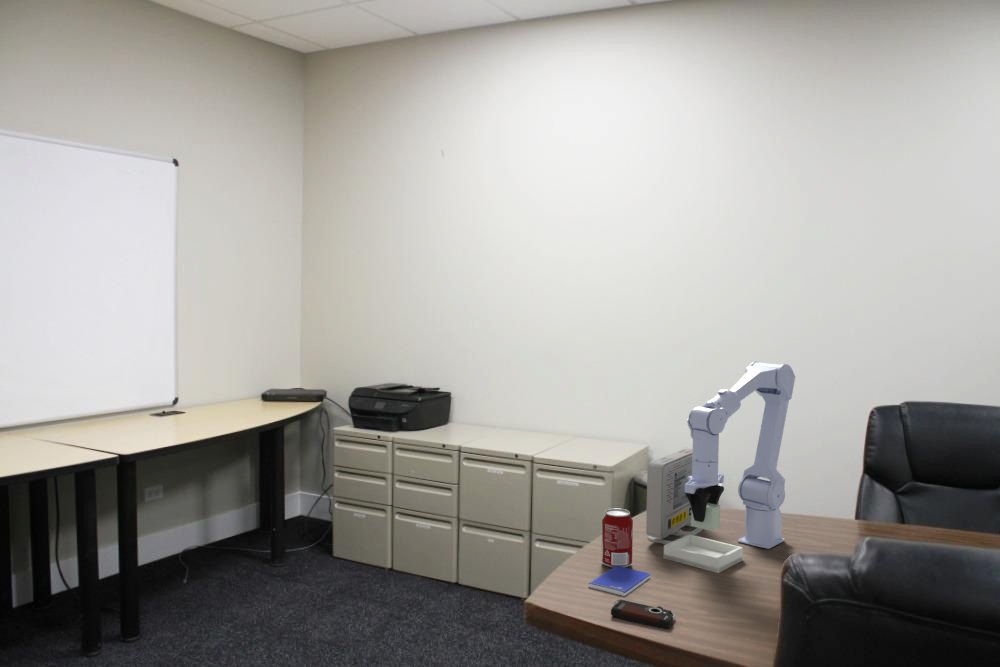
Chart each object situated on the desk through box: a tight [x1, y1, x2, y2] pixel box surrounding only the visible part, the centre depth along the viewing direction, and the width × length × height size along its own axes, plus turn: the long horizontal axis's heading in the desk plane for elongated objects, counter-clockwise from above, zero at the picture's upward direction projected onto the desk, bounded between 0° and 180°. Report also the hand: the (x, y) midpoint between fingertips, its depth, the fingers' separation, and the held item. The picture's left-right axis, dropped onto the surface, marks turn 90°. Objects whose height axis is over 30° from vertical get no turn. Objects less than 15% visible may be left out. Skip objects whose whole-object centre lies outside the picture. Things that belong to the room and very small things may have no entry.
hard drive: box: [588, 566, 651, 597], centre depth 161 cm, size 2×8×12 cm
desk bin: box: [663, 534, 744, 574], centre depth 175 cm, size 12×14×3 cm
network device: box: [645, 447, 703, 545], centre depth 194 cm, size 26×9×20 cm, turn 144°
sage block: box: [690, 503, 721, 532], centre depth 175 cm, size 4×5×5 cm
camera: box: [610, 598, 676, 630], centre depth 143 cm, size 6×3×11 cm
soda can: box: [601, 508, 634, 569], centre depth 171 cm, size 7×7×12 cm
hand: (703, 519), depth 175 cm, fingers closed on sage block, 4 cm apart
